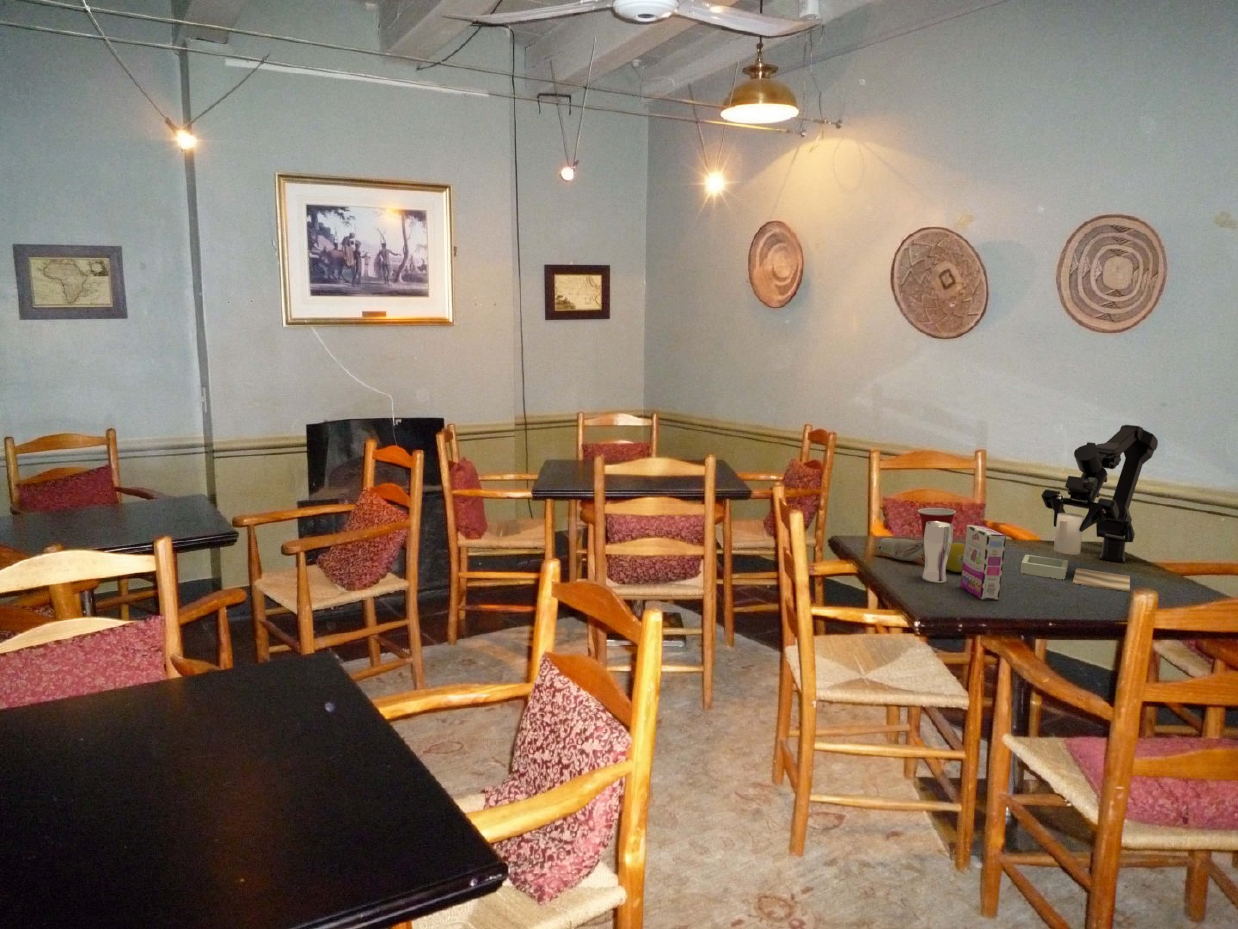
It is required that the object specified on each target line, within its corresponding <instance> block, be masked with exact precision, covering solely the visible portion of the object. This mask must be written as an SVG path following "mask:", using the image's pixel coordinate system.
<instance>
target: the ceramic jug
mask: <svg viewBox="0 0 1238 929" xmlns="http://www.w3.org/2000/svg"><path fill="white" fill-rule="evenodd" d="M1084 519H1085V516H1084V515H1082V514H1077V513H1071V512H1065V513H1058V515H1057V524H1056V527H1055V534H1054V544H1053V551H1054V552H1056V553H1059V554H1060V553H1061V554H1064V555H1080V554H1081V550H1082V540H1083V532H1084V531H1082V532H1080V530H1079V529H1080V526H1081V524H1082V522H1083V520H1084Z"/></svg>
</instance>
